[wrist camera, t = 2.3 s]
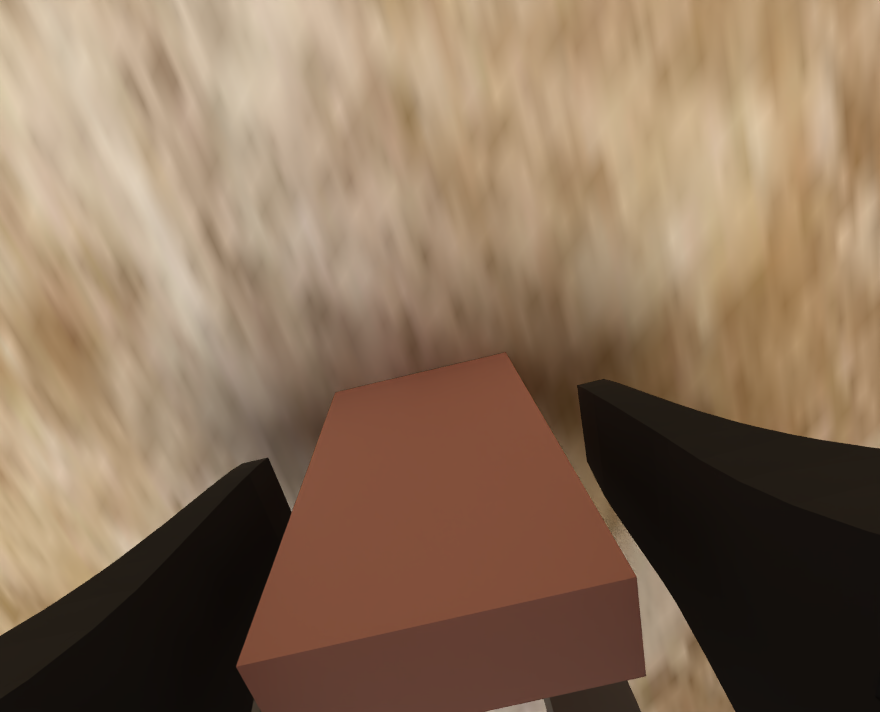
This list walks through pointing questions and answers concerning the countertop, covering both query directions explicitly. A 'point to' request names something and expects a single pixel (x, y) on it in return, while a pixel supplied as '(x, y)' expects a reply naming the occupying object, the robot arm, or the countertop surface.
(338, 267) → the countertop surface
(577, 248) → the countertop surface
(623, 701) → the domino
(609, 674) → the loose domino
